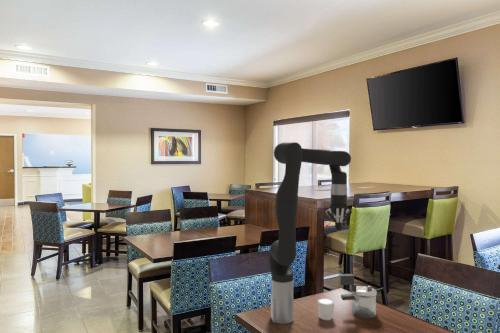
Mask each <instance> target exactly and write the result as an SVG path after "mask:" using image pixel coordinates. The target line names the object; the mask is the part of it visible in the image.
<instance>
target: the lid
mask: <svg viewBox="0 0 500 333" xmlns="http://www.w3.org/2000/svg"><path fill="white" fill-rule="evenodd" d="M338 284H339V286H349V290H350V292H351V294H352V293H353V294H355V295H357V296H362V297H373V296H376V297H377V293H378V291H377V289H375V288H373V286H372V285H366V286H365V285H357V284H356V283H355V275H354V274H353V273H348V274H347V273H345V274H344V273H343V274H342V273H340V274H338Z"/></svg>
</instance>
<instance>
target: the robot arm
mask: <svg viewBox="0 0 500 333" xmlns="http://www.w3.org/2000/svg"><path fill="white" fill-rule="evenodd" d="M273 156H274V159H275V160H276V161H277V162H278V163H280V164H283V165H284V164H285V171H284V175H283V176H284V177H283V180H282V181H281V183H280V185H279V186H278V189H277V191H276V195H275V206H274V207H275V209H274V211H275V216H276V217H275V218H276V221H277V227H278V240H275V241H274V242H273V243H271V245H270V247H269V254H268V255H269V272H270V276H271V295H270V319H271V321H272V323H273V324H281V325H285V324H286V325H287V324H290V323H291V324H292V323H293V321H294V272H293V270H292V267H291V265H292V264H293V263H294V262H295V260H296V258H297V238H296V236H297V235H296V234H297V233H296V231H297V215H298V213H297V212H298V203H299V202H298V201H299V199H298V198H299V186H300V185H299V183H300V174H301V168H302V163H307V164H314V165H320V166H321V165H322V166H323V165H324V166H329V171H330V174H331V175H330V176H331V187H330V205H329V207H328V209H327V210H324V212H325V214H326V216H328V218H329V220H331V221H332V222H334V229H335V230H336V231H337V232H338V231H339V232H340V231H341V230H342V228H343V222H346V221H347V220H348V219H349V217H350V216H351V215H352V213H353V211H352V210H351V209H349V206H348V184H347V183H348V182H347V181H348V180H347V179H348V175H347V172H346V171H343V170H342V169H341V167H347V166H348V165H350V164H351V160H352V157H351V154H350V153H349V152H348V151H346V150H345V151H344V150H330V149H324V148H308V147H305V148H304V147H302V145H301V144H300V143H299V142H296V141H289V142H287V141H286V142H281V143H278V144H277V145H276V146H275V148H274V150H273Z"/></svg>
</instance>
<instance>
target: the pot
mask: <svg viewBox="0 0 500 333" xmlns="http://www.w3.org/2000/svg"><path fill="white" fill-rule="evenodd" d="M340 298H341V299H342V301H351V302H352V304H351V306H352V307H351V312H352V314H353V315H354V316H356V317H359V318H363V319H372V318H374V317H376V316H377V295H376V296H373V297H362V296H357V295H355V294H353V293H352V292H351V293H345V294H341V295H340Z"/></svg>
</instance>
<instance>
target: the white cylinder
mask: <svg viewBox="0 0 500 333" xmlns="http://www.w3.org/2000/svg"><path fill="white" fill-rule="evenodd" d="M334 303H335V301H334V300H333V299H330V298H319V299H318V300H317V307H318V318H319V319H321V320H323V321H331V320H333V318H334V317H333V316H334V307H335V304H334Z"/></svg>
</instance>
